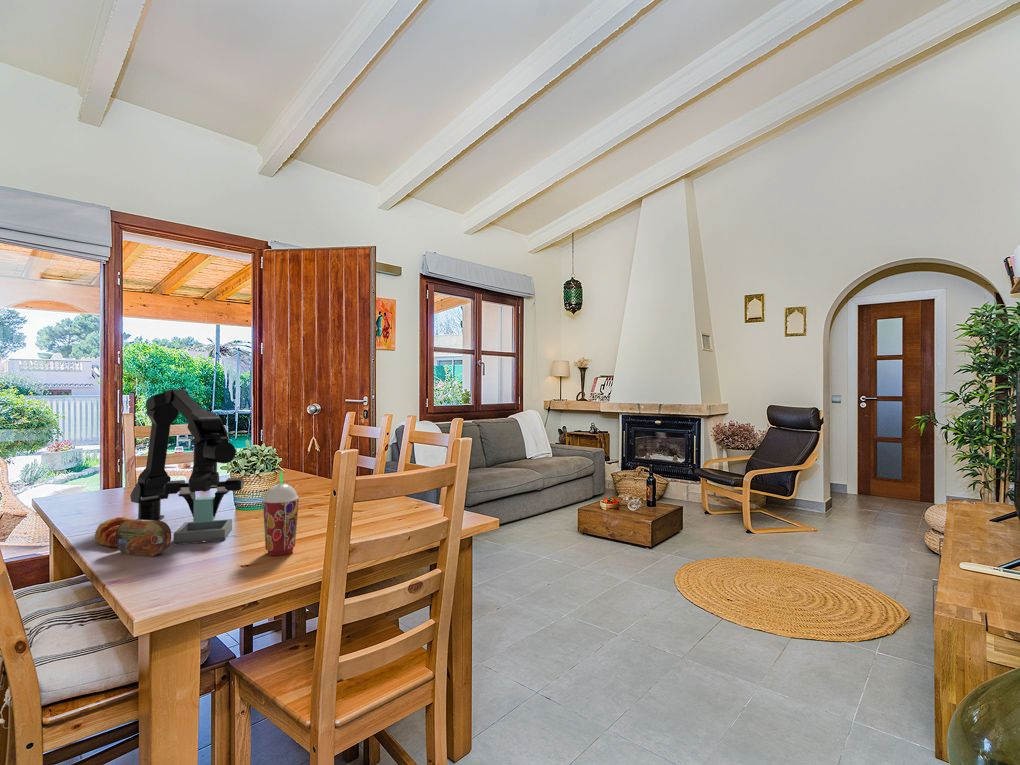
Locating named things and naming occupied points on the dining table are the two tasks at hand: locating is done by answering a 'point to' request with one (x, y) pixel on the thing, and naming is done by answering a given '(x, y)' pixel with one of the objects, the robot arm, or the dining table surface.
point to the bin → (202, 531)
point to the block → (203, 509)
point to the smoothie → (280, 518)
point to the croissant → (109, 531)
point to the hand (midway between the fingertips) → (204, 516)
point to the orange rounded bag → (143, 537)
